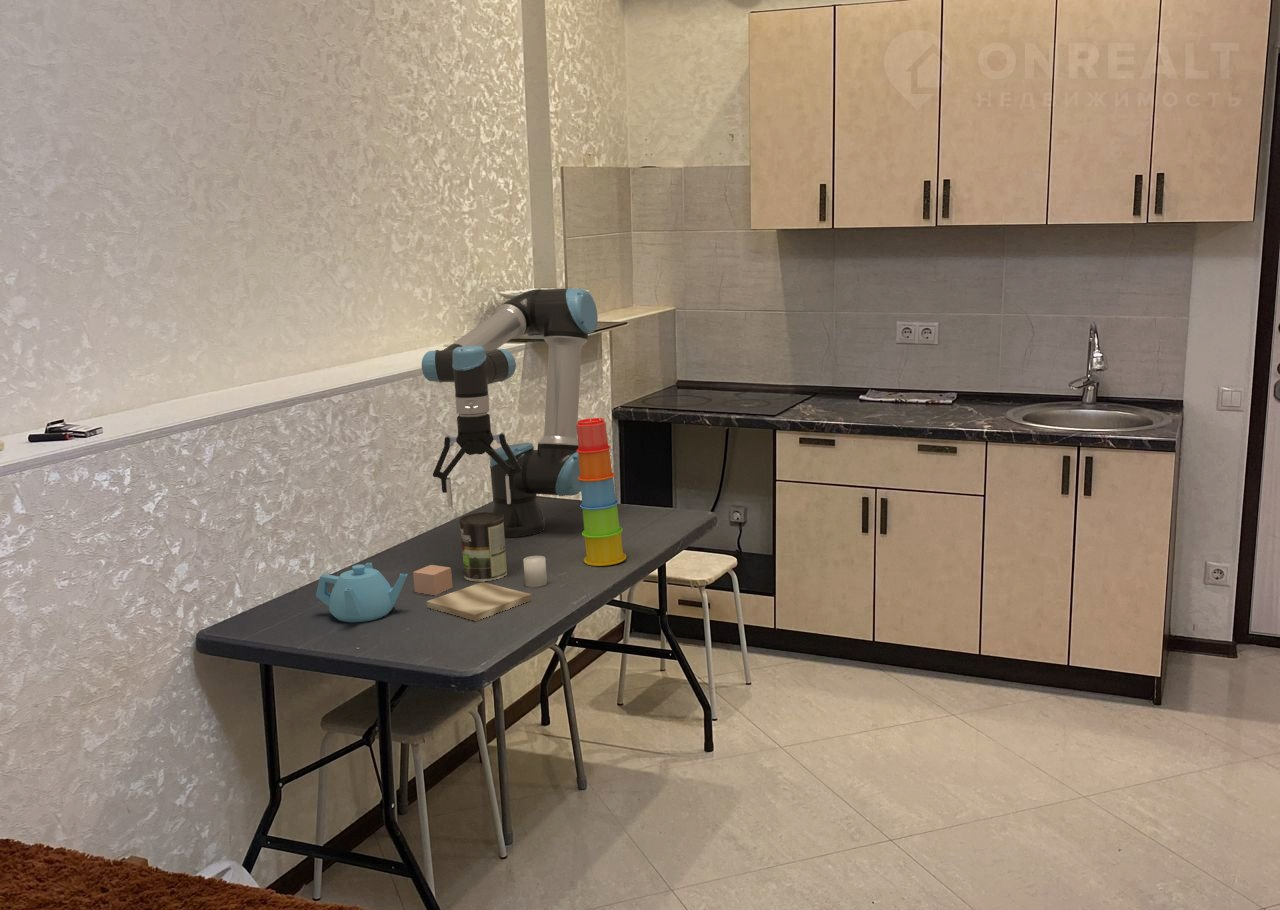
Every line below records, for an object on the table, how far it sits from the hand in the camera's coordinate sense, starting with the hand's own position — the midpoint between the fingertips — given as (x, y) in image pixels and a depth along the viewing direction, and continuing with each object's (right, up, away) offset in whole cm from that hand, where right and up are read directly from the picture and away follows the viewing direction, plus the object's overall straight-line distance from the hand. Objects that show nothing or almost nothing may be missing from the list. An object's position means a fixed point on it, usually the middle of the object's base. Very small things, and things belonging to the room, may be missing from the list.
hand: (479, 504), depth 272 cm
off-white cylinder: (+14, -18, -5) cm, 23 cm away
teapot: (-22, -23, -19) cm, 37 cm away
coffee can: (+1, -17, +4) cm, 18 cm away
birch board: (+2, -21, -17) cm, 27 cm away
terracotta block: (-10, -19, -6) cm, 22 cm away
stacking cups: (+29, -14, +11) cm, 34 cm away
